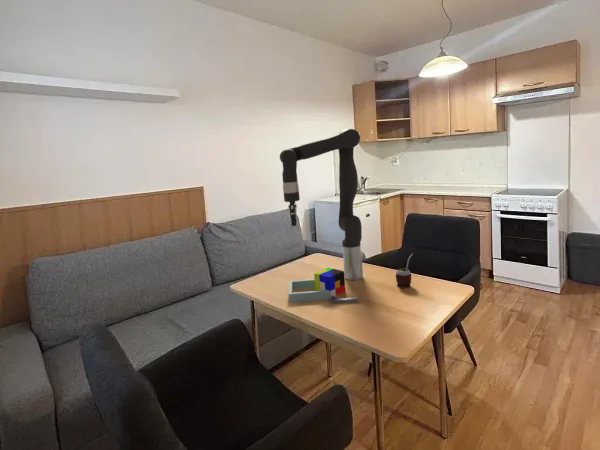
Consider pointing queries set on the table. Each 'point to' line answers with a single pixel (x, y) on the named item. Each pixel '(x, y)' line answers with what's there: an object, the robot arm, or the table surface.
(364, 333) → the table surface
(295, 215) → the robot arm
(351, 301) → the crook tool
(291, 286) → the grey-blue flat square frame
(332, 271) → the puzzle toy
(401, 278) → the mate gourd
